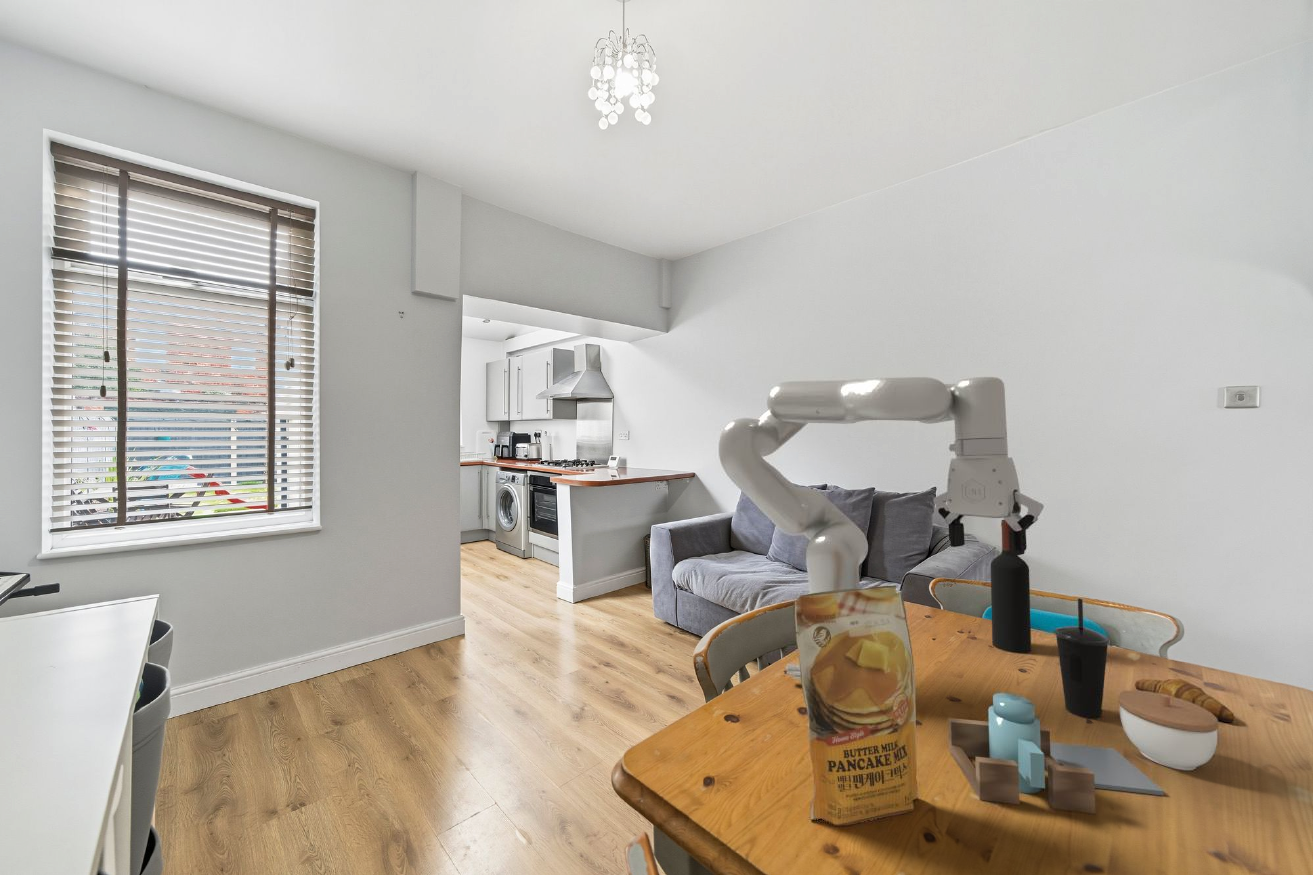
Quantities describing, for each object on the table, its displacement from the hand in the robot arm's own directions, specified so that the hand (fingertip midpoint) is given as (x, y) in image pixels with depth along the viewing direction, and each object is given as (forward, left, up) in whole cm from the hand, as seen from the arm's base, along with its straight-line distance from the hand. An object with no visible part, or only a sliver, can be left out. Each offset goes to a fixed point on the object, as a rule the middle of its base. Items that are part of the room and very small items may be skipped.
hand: (986, 550), depth 86 cm
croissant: (+37, +15, -30) cm, 50 cm away
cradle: (-2, -14, -30) cm, 33 cm away
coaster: (+11, -9, -30) cm, 33 cm away
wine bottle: (+21, +40, -30) cm, 54 cm away
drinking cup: (+19, +9, -30) cm, 36 cm away
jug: (-2, -16, -30) cm, 34 cm away
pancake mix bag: (-25, -24, -30) cm, 46 cm away
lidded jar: (+23, -4, -30) cm, 38 cm away
